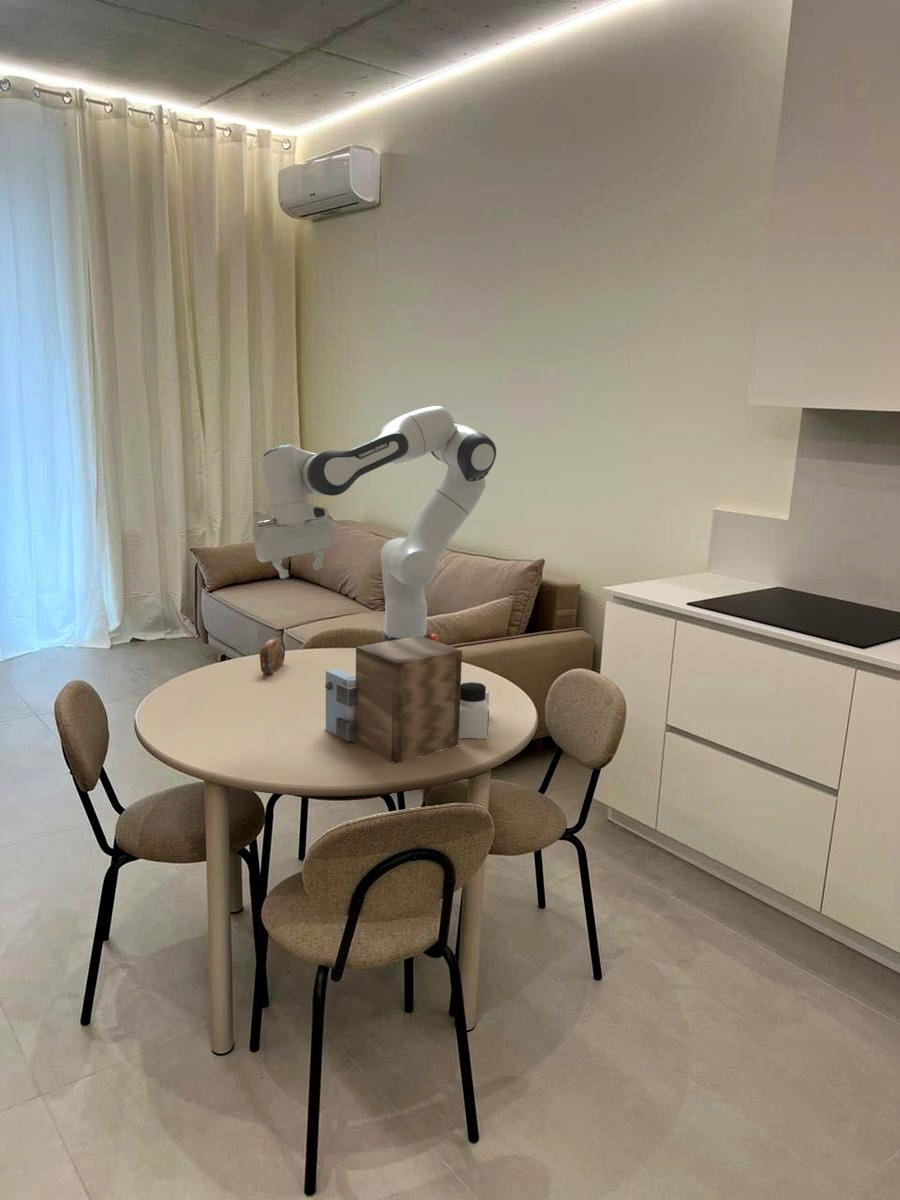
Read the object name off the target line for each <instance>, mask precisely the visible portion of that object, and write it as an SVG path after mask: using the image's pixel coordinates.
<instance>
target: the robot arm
mask: <svg viewBox="0 0 900 1200" xmlns="http://www.w3.org/2000/svg"><path fill="white" fill-rule="evenodd" d="M429 453H430V454H431V455H432V456H433V457H435V459H436V460H438V461H441V462H442V463H444V464H445V465H447V472H446V475H445V476H444V479H443V480H442V481H441V482H440V483H439V484H438V486H437V487H436V488H435V489H434V491H433V492H432V493H431V495H430V496H429V498H427V500H426V501H425V502H424V504H423V505H422V506H421V508H420V509H419V510H418V512H417V514H416V516H415V520H414V523H413V525H412V527H411V529H410V530H409V533H408V535H407V536H406V537H396V538H392V539H390V540H388V541H386V542H385V544H384V545H383V546H382V548H381V551H380V563H381V575H382V584H383V585H382V586H383V587H382V588H383V595H384V602H385V603H384V607H385V609H384V611H385V613H384V616H385V618H384V632H383V635H382V638H383V639H382V642H387V641H392V640H398V639H403V638H409V637H415V636H421V637H424V638H427V639H430V640H433V641H436V642H438V641H439V639H440V638H439V635H438V634H434V633H431V634H430V633H428V632H427V627H428V626H427V625H428V624H427V621H428V619H427V617H428V603H427V601H426V600H427V599H426V594H425V586H428V585H429V584H430V583H431V582H432V581H433V579H434V578H435V576H436V573H437V568H438V566H439V563H440V561H441V560H442V557H443V556H444V553H445V552H446V549H447V547H448V545H449V544H450V542H451V540H452V539H453V537H454V536H455V535H456V533H457V531H458V530H459V529H460V528H461V526H462V525H463V524H464V522H465V521H466V520H467V518H468V517H469V515H470V514H471V513H472V512H473V510H474V508H475V507H476V505H477V504H478V502H479V500H480V498H481V497H482V495H483V492H484V491H485V489H486V485H487V483H486V478H485V477H487V475H488V474H489V472H490V470H491V469H492V467H493V466H494V464H495V462H496V458H497V447H496V444H495V443H494V441H493V440H492V439H491V438H490V437H489V436H488V435H486V434H485V433H483V432H480V431H479V430H476V428H473V427H471V426H468V425H463V424H460V423H457V422H455V421H454V418H453V416H452V414H451V413H450V412H449V410H448V409H446V408H445V407H443V406H440V405H431V406H427V407H422V408H418V409H415V410H412V411H409V412H406V413H404V414H401V415H400V416H398V417H396V418H393V419H391V420H389V422H387V423H385V424H384V425H383V426H381V428H380V429H379V432H378V436H377V437H375V438H374V439H372V440H369V441H368V442H364V443H363V444H361V445H359V446H356V447H353V448H351V449H348V450H336V449H335V450H333V449H332V450H331V449H330V450H329V449H328V450H325V451H323V452H319V453H315V452H312V451H311V452H310V451H308V450H303V449H301V448H300V447H296V446H295V445H293V444H292V443H286V444H282V445H280V446H276V447H274V448H271V449H269V450H267V451H265V453H263V456H262V459H261V466H262V467H261V469H262V476H263V482H264V488H265V490H266V492H267V494H268V501H269V502H268V506H269V511H270V517H271V519H268V520H262V521H258V522H257V523H256V524H255V525H253V527H252V535H253V539H254V547H255V548H254V549H255V550H254V551H255V557H256V559H257V560H258V561H259V562H260V563H268V562H272V566H273V567H274V568H275V569H276V571H278V574H279V578H280V579H286V578H289V577H290V574H289V570H288V569H285V568H284V567H283V565H282V564H283V559H285V558H290V557H294V556H299V555H303V554H308V553H311V552H314V556H315V555H316V559H315V562H312V566H313V568H312V569H313V570H314V571H318V570H319V571H320V570H323V560H324V556H325V549H330V548H333V547H335V544H336V542H337V540H336V533H335V530H334V526H333V524H332V523H333V522H332V520H330V518H328V516H329V509H328V508H327V507H324V506H318V505H311V504H308V499H307V497H308V495H313V496H339V495H341V494H343V493H345V492H346V491H347V490H349V489H350V488H351V486H352V485H353V484H354V483H355V482H356V481H357V479H359V478H360V477H361V476H363V475H365V474H367V473H370V472H372V471H374V470H376V469H378V468H381V467H383V466H385V465H387V464H402V463H405V462H410V461H413V460H416V459H418V458H422V457H423V456H426V455H427V454H429Z"/></svg>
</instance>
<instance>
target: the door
mask: <svg viewBox="0 0 900 1200" xmlns="http://www.w3.org/2000/svg"><path fill="white" fill-rule="evenodd" d="M338 683H340V684H343V685H345V686H347V687H349V688H351V687H356V675H355V676H354V675H352V674H350V673H347V672H345V671H343V670H340V669H338V668H334V669H329V670H325V684H324V688H325V730H326V731H328V732H330V733H332V734H334V735H336V718H339V717H340V718H342V719H344V720H346V721H348V722H353V721H355V706H350V707H348V706H346V705H344V704H342V703H340V702H338V701H336V699H337V684H338ZM351 742H355V740H352V741H351Z"/></svg>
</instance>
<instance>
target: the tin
mask: <svg viewBox="0 0 900 1200" xmlns="http://www.w3.org/2000/svg"><path fill="white" fill-rule="evenodd" d="M285 647H286V646H285V643H284V639H283V638H282V637H271V638H270V639H269V640H267V641H266V642H265V643H263V644H262V646H261V647H260V652H259V661H260V663H259V664H260V670H261V672H262V673H263V674H265V675H266V674H267V675H270V674H271V675H274V674H275V673H276V672H277V671H278V670H279V669H280V668H281V667H282V666H283V664H284V662H285V655H286V653H285V652H286V649H285ZM276 670H277V671H276ZM274 672H275V673H274ZM273 673H274V674H273Z"/></svg>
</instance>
